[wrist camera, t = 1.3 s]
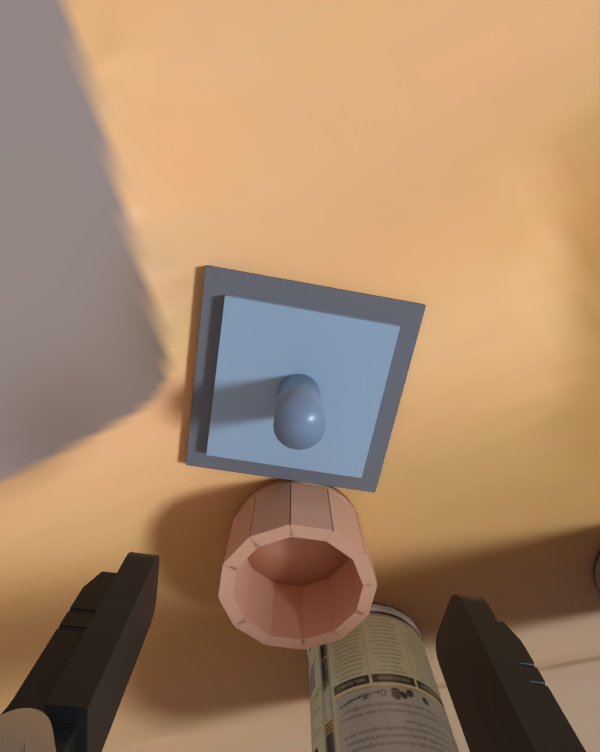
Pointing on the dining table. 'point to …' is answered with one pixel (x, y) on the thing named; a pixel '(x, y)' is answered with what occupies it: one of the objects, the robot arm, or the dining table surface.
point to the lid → (298, 386)
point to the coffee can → (376, 690)
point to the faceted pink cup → (297, 566)
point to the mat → (308, 297)
